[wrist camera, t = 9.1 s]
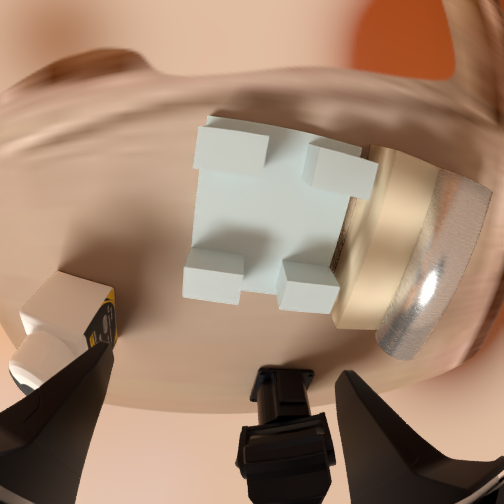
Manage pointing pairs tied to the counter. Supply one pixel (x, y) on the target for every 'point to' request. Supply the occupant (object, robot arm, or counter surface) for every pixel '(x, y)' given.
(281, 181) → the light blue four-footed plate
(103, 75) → the counter surface
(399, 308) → the steel axle
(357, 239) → the beech v-block
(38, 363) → the medicine bottle
